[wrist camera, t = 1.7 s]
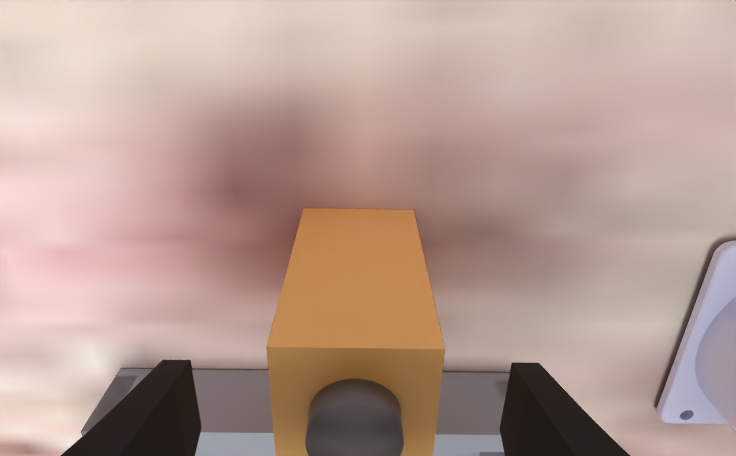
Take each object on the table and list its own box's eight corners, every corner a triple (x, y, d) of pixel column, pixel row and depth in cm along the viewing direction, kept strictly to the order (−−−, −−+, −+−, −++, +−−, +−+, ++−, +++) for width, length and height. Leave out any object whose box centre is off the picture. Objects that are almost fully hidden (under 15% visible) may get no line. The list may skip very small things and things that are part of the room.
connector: (413, 209, 16) (451, 377, 9) (407, 301, 18) (435, 503, 11) (303, 208, 16) (259, 374, 9) (306, 300, 18) (271, 502, 11)
